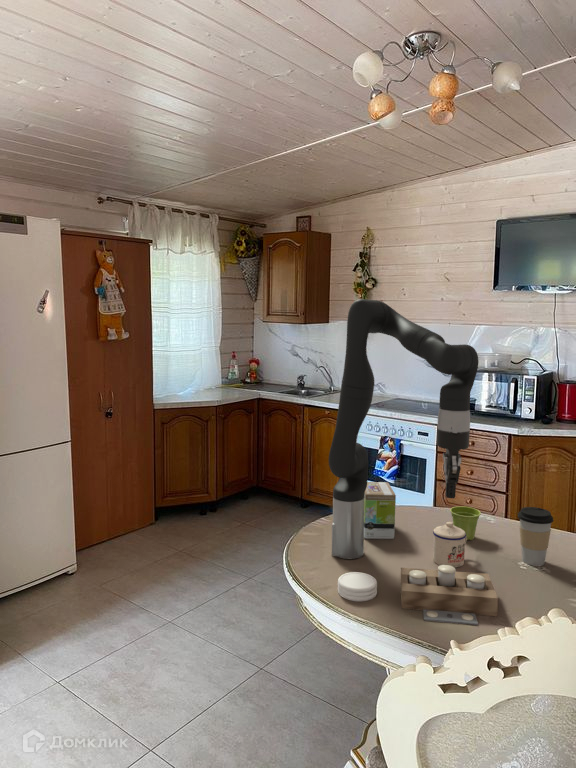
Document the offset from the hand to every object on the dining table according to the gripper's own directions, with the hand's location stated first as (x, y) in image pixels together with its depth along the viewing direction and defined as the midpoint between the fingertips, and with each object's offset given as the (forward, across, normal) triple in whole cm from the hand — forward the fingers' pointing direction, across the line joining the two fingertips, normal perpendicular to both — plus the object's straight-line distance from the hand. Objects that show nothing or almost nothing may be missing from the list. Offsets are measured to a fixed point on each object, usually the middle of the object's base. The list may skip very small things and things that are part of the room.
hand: (450, 497), depth 138 cm
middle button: (+22, 0, 0) cm, 22 cm away
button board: (+26, 0, 0) cm, 26 cm away
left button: (+24, 0, -7) cm, 25 cm away
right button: (+24, 0, +7) cm, 25 cm away
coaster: (+27, 0, -22) cm, 35 cm away
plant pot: (+27, -43, +10) cm, 51 cm away
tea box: (+27, -44, -18) cm, 54 cm away
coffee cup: (+26, -27, +27) cm, 46 cm away
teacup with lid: (+26, -24, +4) cm, 36 cm away
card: (+26, +9, 0) cm, 28 cm away
